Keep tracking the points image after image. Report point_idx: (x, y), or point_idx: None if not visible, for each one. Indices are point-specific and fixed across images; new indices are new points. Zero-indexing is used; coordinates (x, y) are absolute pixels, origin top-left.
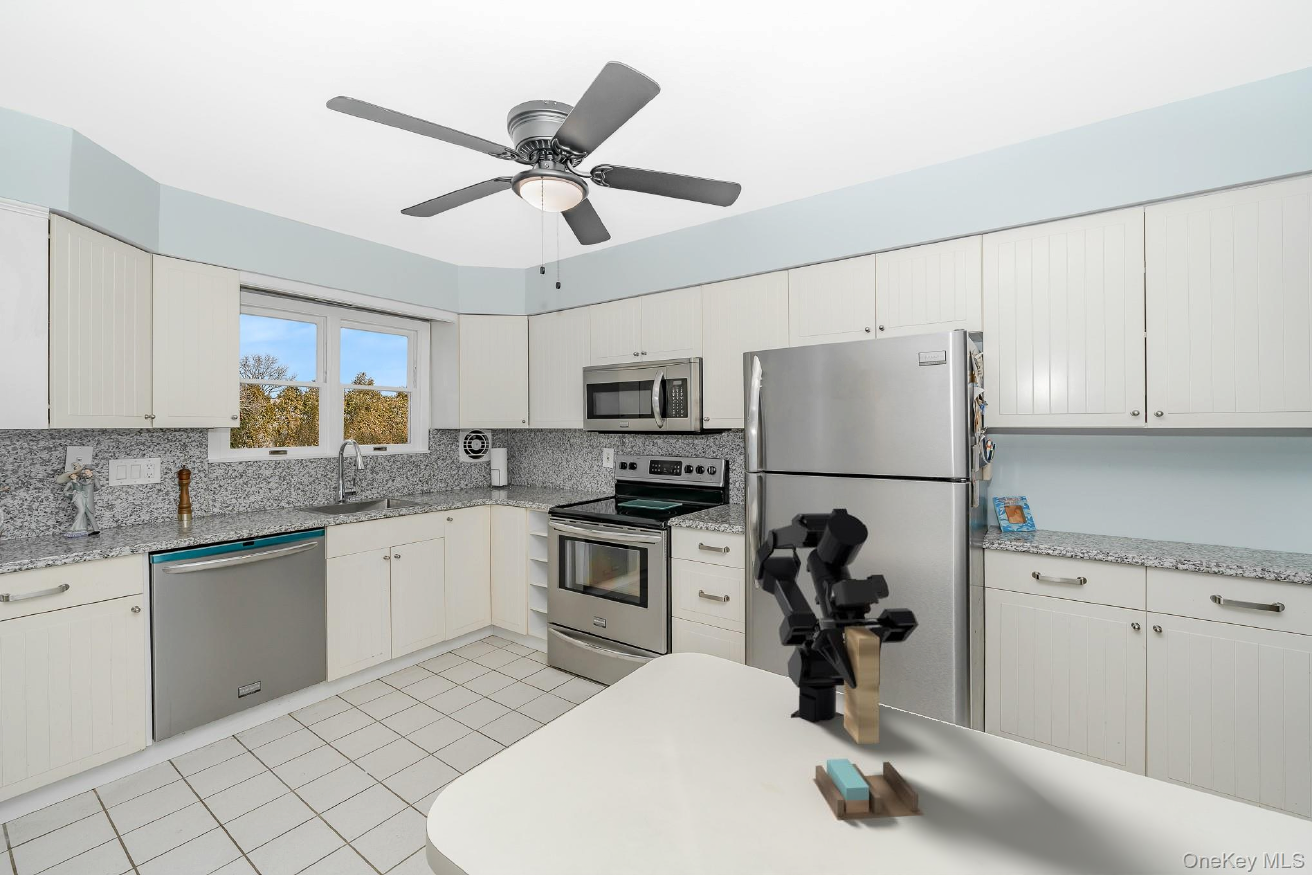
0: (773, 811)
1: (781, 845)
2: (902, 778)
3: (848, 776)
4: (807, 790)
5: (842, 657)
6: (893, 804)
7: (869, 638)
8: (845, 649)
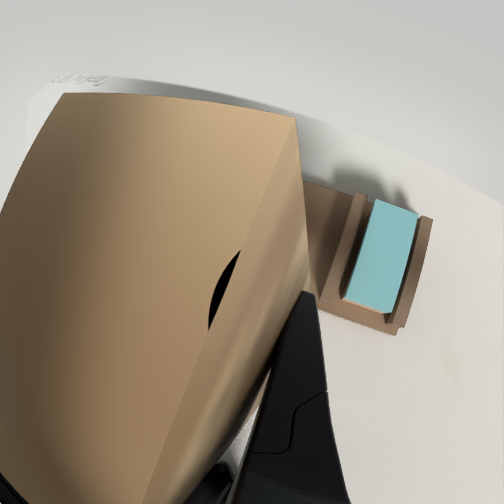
0: (480, 305)
1: (501, 238)
2: None
3: (390, 242)
4: (403, 332)
5: (313, 400)
6: (313, 212)
7: (151, 95)
8: (257, 429)
